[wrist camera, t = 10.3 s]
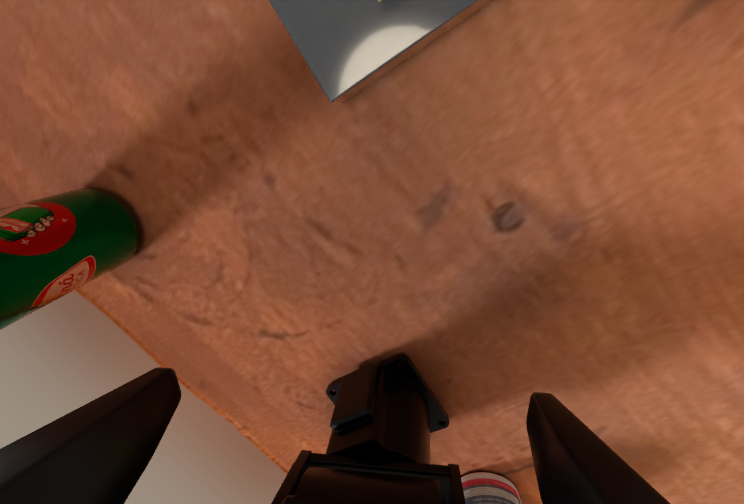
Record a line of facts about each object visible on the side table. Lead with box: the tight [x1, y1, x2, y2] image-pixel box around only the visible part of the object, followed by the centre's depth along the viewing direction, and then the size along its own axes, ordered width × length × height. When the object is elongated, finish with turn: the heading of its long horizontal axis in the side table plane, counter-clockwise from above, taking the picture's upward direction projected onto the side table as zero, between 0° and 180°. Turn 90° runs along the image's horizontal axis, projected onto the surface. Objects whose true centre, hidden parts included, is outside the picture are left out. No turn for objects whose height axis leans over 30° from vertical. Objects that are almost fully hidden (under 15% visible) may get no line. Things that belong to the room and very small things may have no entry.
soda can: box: [0, 188, 138, 329], centre depth 18 cm, size 5×5×12 cm
